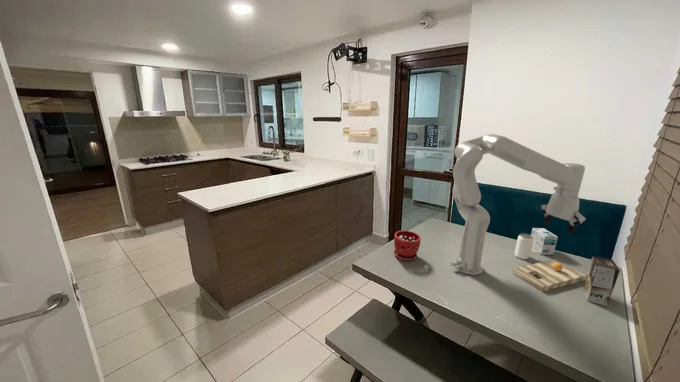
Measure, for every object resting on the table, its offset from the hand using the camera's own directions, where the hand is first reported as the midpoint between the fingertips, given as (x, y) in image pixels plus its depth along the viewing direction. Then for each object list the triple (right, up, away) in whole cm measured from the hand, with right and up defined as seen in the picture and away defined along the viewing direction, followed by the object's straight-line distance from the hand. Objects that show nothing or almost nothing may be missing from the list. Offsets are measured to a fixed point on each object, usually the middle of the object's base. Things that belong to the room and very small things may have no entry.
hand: (557, 228), depth 120 cm
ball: (+2, -18, +3) cm, 18 cm away
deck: (-3, -22, +2) cm, 23 cm away
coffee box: (+6, -27, -11) cm, 29 cm away
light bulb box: (+11, -15, +26) cm, 32 cm away
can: (-3, -17, +19) cm, 26 cm away
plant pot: (-63, -17, +20) cm, 69 cm away
